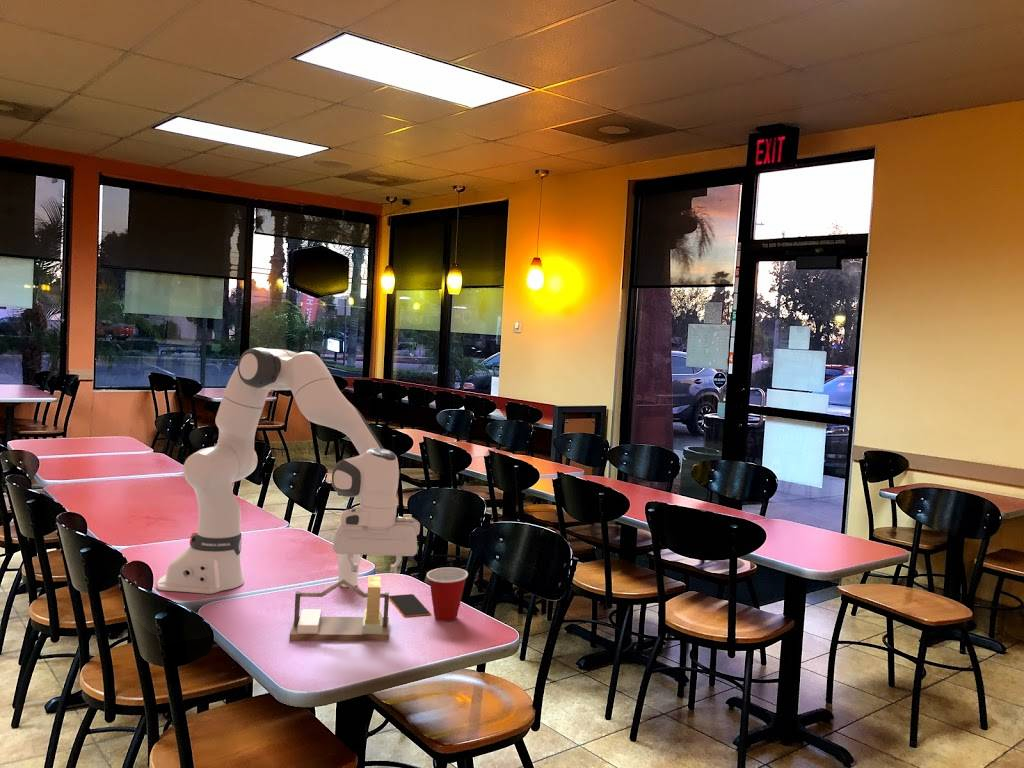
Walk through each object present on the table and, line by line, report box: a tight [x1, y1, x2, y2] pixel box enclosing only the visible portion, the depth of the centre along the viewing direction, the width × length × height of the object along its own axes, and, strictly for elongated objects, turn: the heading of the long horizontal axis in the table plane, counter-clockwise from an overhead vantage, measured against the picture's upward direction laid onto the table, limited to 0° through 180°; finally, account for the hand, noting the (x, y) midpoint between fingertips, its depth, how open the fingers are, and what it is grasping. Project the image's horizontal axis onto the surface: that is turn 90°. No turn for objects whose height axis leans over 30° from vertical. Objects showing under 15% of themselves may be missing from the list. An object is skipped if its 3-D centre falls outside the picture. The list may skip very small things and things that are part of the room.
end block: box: [362, 609, 383, 634], centre depth 199 cm, size 5×11×2 cm, turn 9°
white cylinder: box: [337, 554, 362, 588], centre depth 233 cm, size 7×7×15 cm
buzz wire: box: [288, 579, 390, 642], centre depth 198 cm, size 23×12×13 cm, turn 99°
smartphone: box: [389, 593, 432, 618], centre depth 220 cm, size 8×17×1 cm, turn 24°
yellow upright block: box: [365, 575, 382, 624], centre depth 199 cm, size 4×9×9 cm, turn 9°
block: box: [297, 608, 322, 634], centre depth 197 cm, size 5×11×2 cm, turn 9°
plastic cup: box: [426, 566, 469, 622], centre depth 212 cm, size 11×11×12 cm
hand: (373, 572), depth 198 cm, fingers open, 8 cm apart
